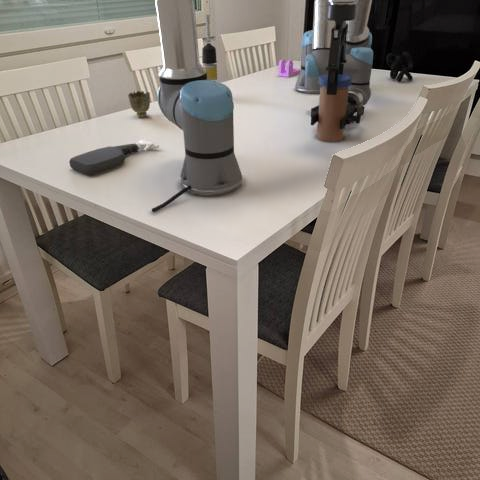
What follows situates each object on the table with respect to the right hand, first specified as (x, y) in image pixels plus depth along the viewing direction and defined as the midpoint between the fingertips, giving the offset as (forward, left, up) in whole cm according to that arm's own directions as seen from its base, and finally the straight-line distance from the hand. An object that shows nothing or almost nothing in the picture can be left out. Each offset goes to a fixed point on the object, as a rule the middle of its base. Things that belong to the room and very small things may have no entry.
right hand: (326, 122), depth 131 cm
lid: (-4, +2, +11) cm, 12 cm away
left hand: (-4, +2, +8) cm, 9 cm away
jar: (-4, +2, -6) cm, 8 cm away
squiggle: (-81, +42, -6) cm, 92 cm away
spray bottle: (+15, -59, -6) cm, 61 cm away
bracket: (-95, -6, -6) cm, 96 cm away
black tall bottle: (-50, -40, -6) cm, 65 cm away
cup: (-26, -62, -6) cm, 68 cm away
